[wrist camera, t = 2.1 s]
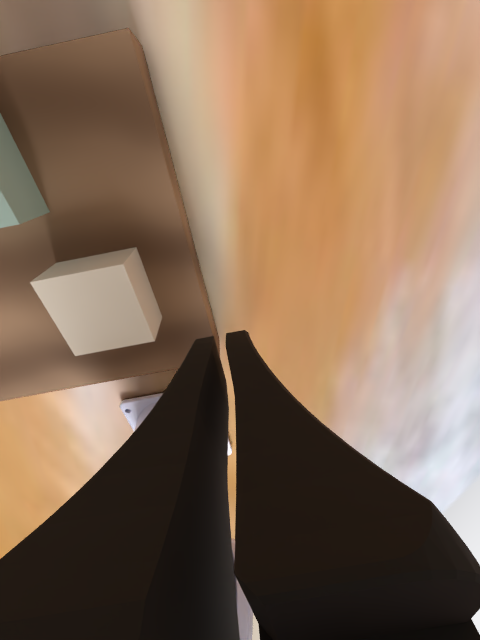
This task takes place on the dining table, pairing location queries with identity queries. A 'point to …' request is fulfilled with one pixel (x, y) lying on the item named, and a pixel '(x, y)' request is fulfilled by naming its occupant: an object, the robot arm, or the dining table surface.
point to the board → (93, 209)
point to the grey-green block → (16, 184)
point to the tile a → (100, 301)
